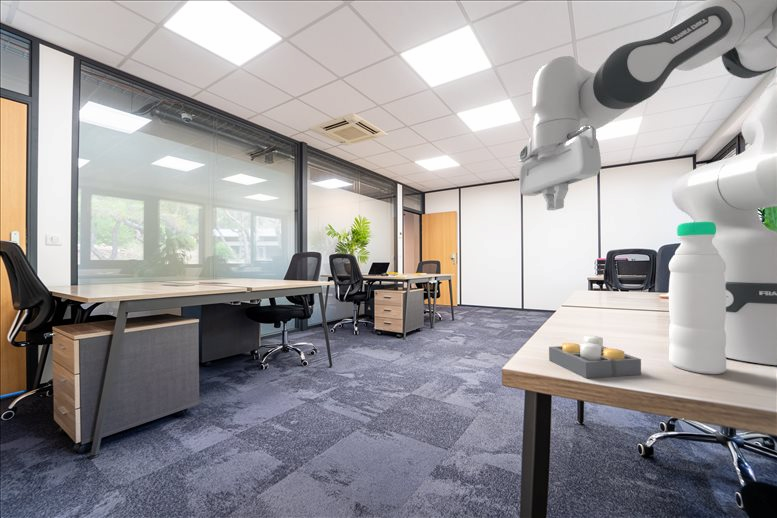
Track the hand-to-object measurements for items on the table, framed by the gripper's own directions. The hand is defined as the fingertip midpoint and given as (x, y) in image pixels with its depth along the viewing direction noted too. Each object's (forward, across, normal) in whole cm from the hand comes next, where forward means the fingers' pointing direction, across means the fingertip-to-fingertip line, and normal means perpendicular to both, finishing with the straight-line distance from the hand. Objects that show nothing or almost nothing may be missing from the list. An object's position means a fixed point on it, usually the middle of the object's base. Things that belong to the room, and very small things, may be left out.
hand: (555, 209), depth 65 cm
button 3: (+27, -8, -2) cm, 28 cm away
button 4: (+29, -12, -2) cm, 31 cm away
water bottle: (+29, -13, -17) cm, 36 cm away
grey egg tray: (+29, -10, 0) cm, 31 cm away
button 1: (+28, -8, +3) cm, 30 cm away
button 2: (+27, -12, +3) cm, 30 cm away
